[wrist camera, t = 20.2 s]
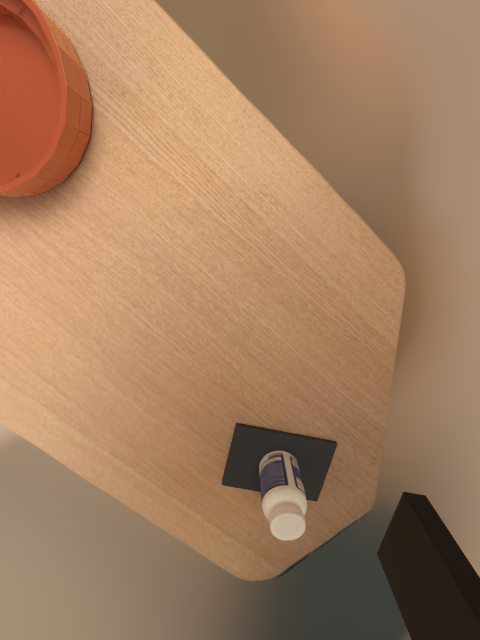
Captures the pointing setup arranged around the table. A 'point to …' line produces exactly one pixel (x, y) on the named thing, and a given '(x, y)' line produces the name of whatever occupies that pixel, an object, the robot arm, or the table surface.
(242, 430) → the mat
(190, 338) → the table surface
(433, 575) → the robot arm
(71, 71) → the bowl
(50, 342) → the table surface
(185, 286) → the table surface
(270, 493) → the pill bottle
